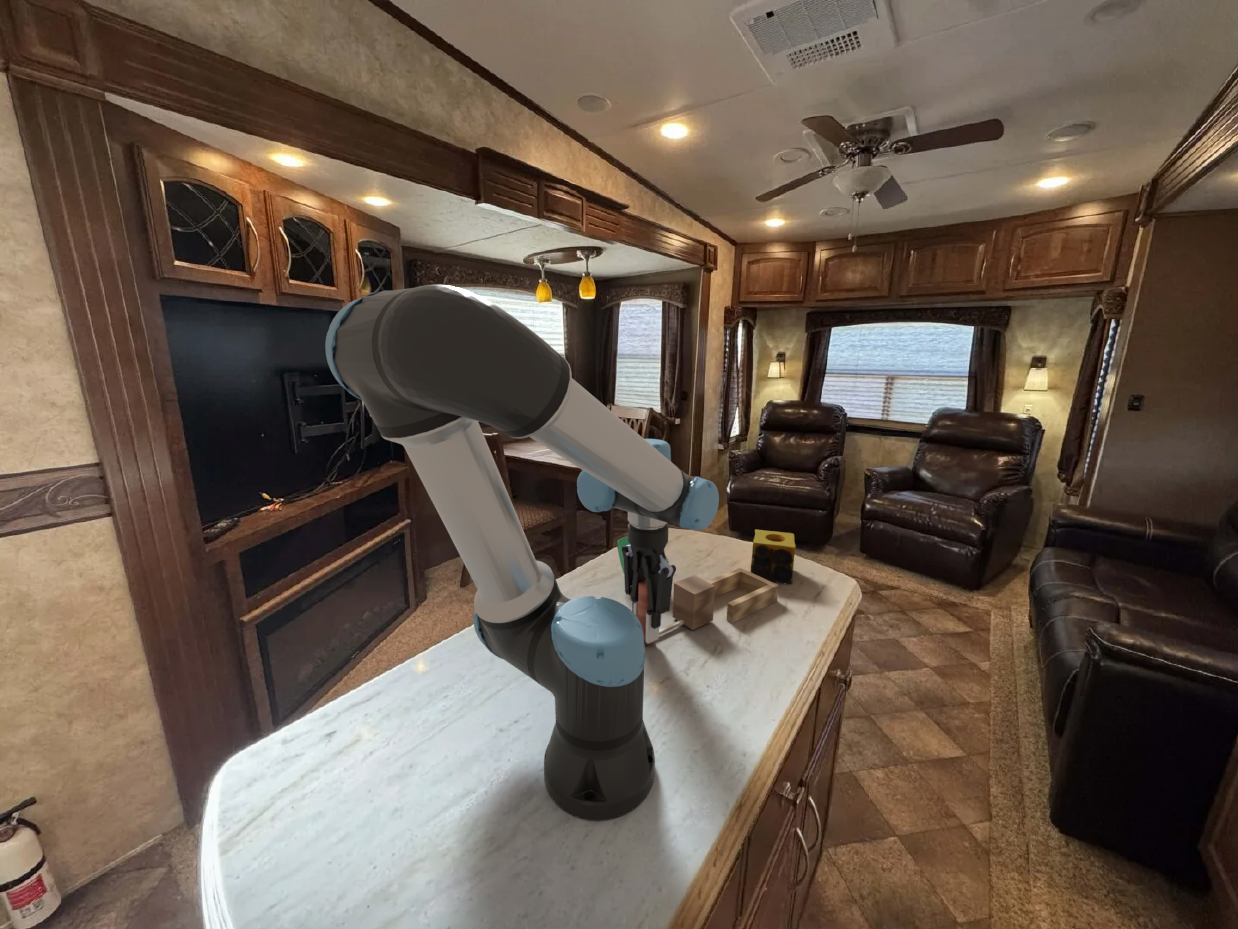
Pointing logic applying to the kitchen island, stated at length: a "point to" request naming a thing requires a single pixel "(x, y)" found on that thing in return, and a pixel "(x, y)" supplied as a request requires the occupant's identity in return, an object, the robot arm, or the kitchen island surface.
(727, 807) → the kitchen island surface
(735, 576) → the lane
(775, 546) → the toy block
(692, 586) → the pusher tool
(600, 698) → the robot arm
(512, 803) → the kitchen island surface
